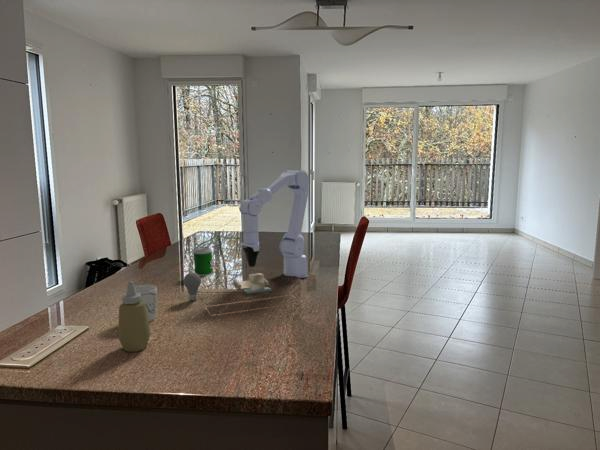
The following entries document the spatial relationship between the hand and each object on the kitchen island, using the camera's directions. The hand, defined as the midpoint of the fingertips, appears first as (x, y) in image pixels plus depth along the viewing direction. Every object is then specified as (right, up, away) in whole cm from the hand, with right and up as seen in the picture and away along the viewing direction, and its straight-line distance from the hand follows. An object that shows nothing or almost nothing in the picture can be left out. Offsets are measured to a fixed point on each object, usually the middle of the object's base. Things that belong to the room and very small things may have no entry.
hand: (252, 266), depth 170 cm
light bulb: (-19, -11, -14) cm, 26 cm away
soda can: (-22, -6, +17) cm, 29 cm away
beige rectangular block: (+3, -8, -7) cm, 11 cm away
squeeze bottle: (-25, -17, -53) cm, 61 cm away
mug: (-31, -14, -34) cm, 48 cm away
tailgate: (+1, -8, -4) cm, 9 cm away
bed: (-1, -8, +1) cm, 8 cm away
